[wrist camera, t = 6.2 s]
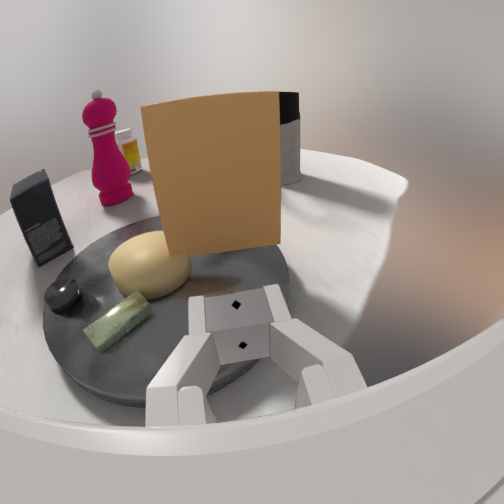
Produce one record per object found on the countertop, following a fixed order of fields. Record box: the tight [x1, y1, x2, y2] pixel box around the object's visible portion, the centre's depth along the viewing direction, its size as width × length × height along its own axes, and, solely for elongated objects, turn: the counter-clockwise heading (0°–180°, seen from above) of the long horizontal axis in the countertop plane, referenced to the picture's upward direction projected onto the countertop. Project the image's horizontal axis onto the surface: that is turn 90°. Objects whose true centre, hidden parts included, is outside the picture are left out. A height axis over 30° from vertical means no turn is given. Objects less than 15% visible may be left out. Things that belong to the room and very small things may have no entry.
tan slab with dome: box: [108, 91, 281, 300], centre depth 19 cm, size 14×7×14 cm, turn 100°
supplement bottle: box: [115, 129, 142, 175], centre depth 54 cm, size 6×6×10 cm
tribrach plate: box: [43, 216, 289, 407], centre depth 23 cm, size 23×23×4 cm
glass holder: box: [279, 92, 302, 185], centre depth 41 cm, size 9×14×15 cm, turn 137°
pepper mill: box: [82, 90, 133, 205], centre depth 38 cm, size 7×7×20 cm
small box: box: [10, 169, 73, 267], centre depth 30 cm, size 11×6×10 cm, turn 46°
